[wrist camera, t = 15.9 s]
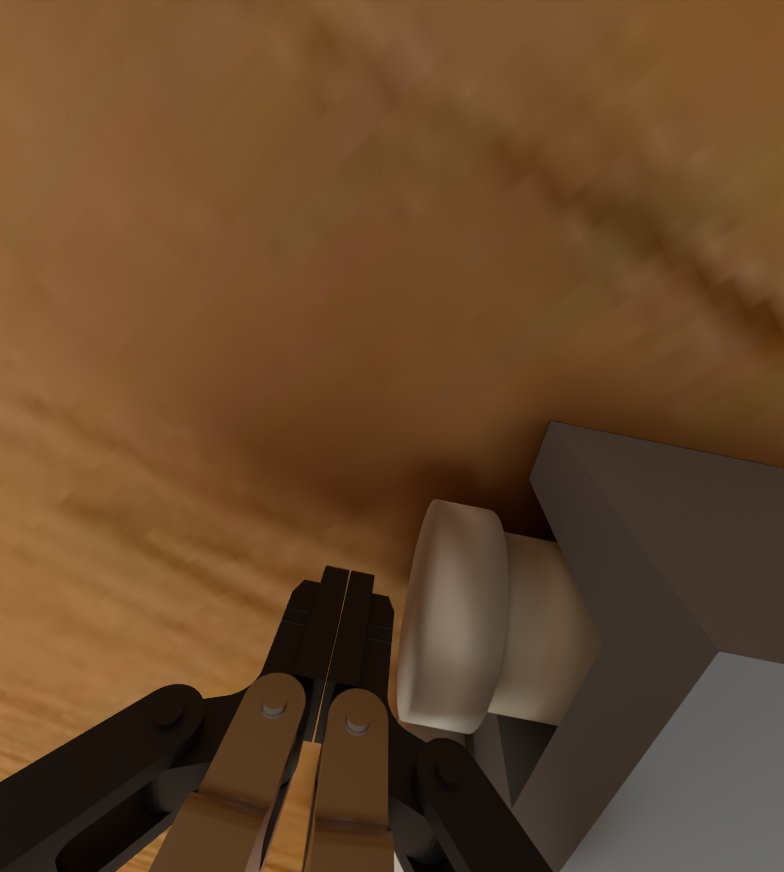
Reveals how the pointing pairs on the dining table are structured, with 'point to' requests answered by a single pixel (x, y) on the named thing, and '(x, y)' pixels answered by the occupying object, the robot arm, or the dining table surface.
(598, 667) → the socket block
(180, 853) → the robot arm
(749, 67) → the dining table surface
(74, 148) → the dining table surface
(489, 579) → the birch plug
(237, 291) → the dining table surface
